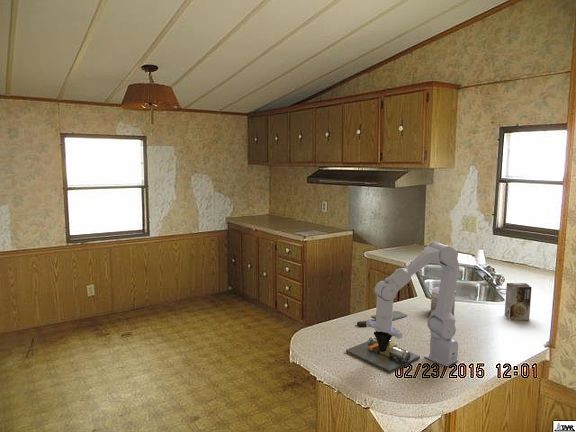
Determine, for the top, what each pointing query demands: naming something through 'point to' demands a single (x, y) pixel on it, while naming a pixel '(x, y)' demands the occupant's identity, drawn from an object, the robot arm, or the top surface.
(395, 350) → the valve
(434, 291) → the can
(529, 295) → the coffee box
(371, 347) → the lever
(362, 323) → the cleaver
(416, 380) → the top surface
